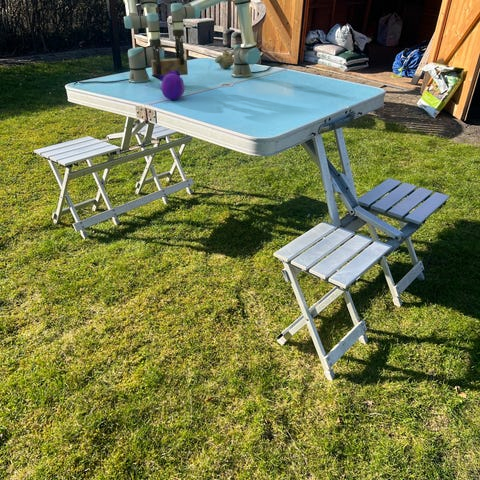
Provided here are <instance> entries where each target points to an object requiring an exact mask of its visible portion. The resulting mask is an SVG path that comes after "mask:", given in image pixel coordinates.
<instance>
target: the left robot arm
mask: <svg viewBox="0 0 480 480" xmlns="http://www.w3.org/2000/svg"><path fill="white" fill-rule="evenodd" d="M122 2H123V4H124V5H125V15H124V16H123V22H124V28H125V29H128V30H129V29H130V30H132V29H145V32H146V40H147V44H146V46H145V48H144V47H143V46H137V47H132V48H130V49H128V50H127V58H128V64H129V65H128V66H129V76H128V78H124V79H119V80H108V81H107V80H106V81H105V80H104V81H99V80H94V81H93V80H91V81H81V80H80V81H75V82H74V83H73V85H77V84H95V83H99V84H111V83H120V82H127V81H128V82H129V83H133V84H141V83H148V82H150V76H149V74H148V71H147V67H152V64H151V60H156V64H157V65H156V67H157V75H161V66H160V65H161V62H160V59H165V48H164V47H163V45H162V40H161V35H162V33H161V32H160V21H159V20H160V19H159V13H158V12H157V9H156V8H158V4H159V3H160V0H122ZM137 5H140V7H141V9H143V15H139V13H138V8H137V7H138V6H137ZM78 82H79V83H78Z"/></svg>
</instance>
